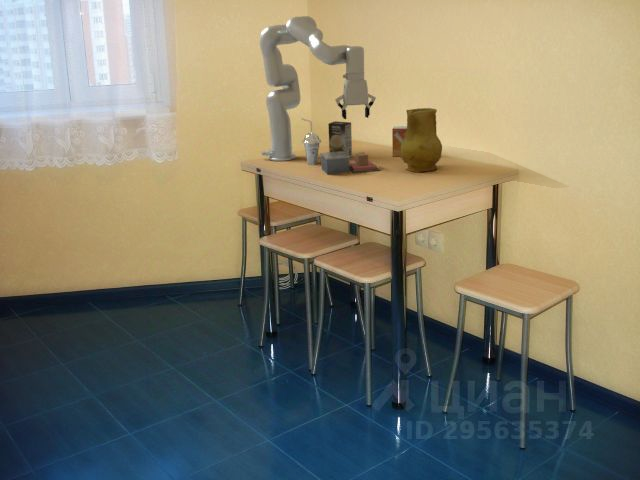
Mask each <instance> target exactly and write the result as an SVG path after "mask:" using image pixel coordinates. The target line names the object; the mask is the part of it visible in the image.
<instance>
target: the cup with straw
mask: <svg viewBox="0 0 640 480" xmlns="http://www.w3.org/2000/svg"><path fill="white" fill-rule="evenodd" d="M301 120H302V121H305V122H308V123H309V125H310V126H309V127H310V132H309V133H306V134H305V136H304V137H303V139H302V142H301V143H302V144H303V146H304V149H305V154H306V156H305V157H306V161H307V165H313V166H314V165H318V164H319V162H318V161H319V150H320V143H322V141H321V139H320V138H319V137H320V136H319V135H318V134H317V133H315V132H313V123H312V121H311V120H309V119H306V118H301Z"/></svg>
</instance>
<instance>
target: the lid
mask: <svg viewBox="0 0 640 480" xmlns="http://www.w3.org/2000/svg"><path fill="white" fill-rule="evenodd" d="M354 159H355V161H353V162H352V161H349V167H350V168H351V169H352V170H353V171H360V170H371V169H377V168H378V166H377V165H376V164H375V163H373V162H372V161H371V160H369V154H367V153H366V152H355V157H354Z"/></svg>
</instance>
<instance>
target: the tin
mask: <svg viewBox="0 0 640 480" xmlns="http://www.w3.org/2000/svg"><path fill="white" fill-rule="evenodd" d="M319 155H320V159H321V160H320V164H321V170H322V171H323V172H324V173H325V175H327V176H328V175H339V174H346V173H347V174H348V173H351V171H350V167H349V163H350V158H351V157H350V156H349V155H347V154H346V153H345V152H343V151H338V152H320V154H319Z"/></svg>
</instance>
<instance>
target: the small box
mask: <svg viewBox="0 0 640 480" xmlns="http://www.w3.org/2000/svg"><path fill="white" fill-rule="evenodd" d="M391 131H392V134H391V135H392V144H391V145H392V146H391V147H392V157H393V158H394V157H400V158H402V157H401V144H402V142H403V140H404V138H405V135H406V131H407V125H405V126H404V125H402V126H399V125H398V126H393V127H392V130H391Z"/></svg>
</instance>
